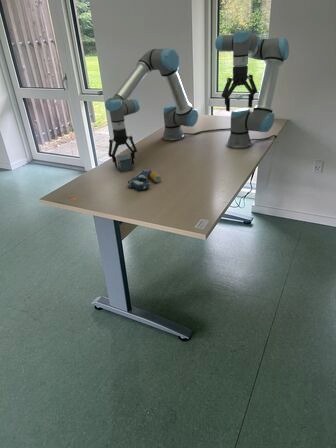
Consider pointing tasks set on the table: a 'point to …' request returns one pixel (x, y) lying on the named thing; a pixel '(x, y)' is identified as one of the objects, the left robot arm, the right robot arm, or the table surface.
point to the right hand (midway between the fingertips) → (239, 109)
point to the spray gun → (143, 179)
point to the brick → (124, 162)
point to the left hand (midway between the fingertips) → (124, 165)
